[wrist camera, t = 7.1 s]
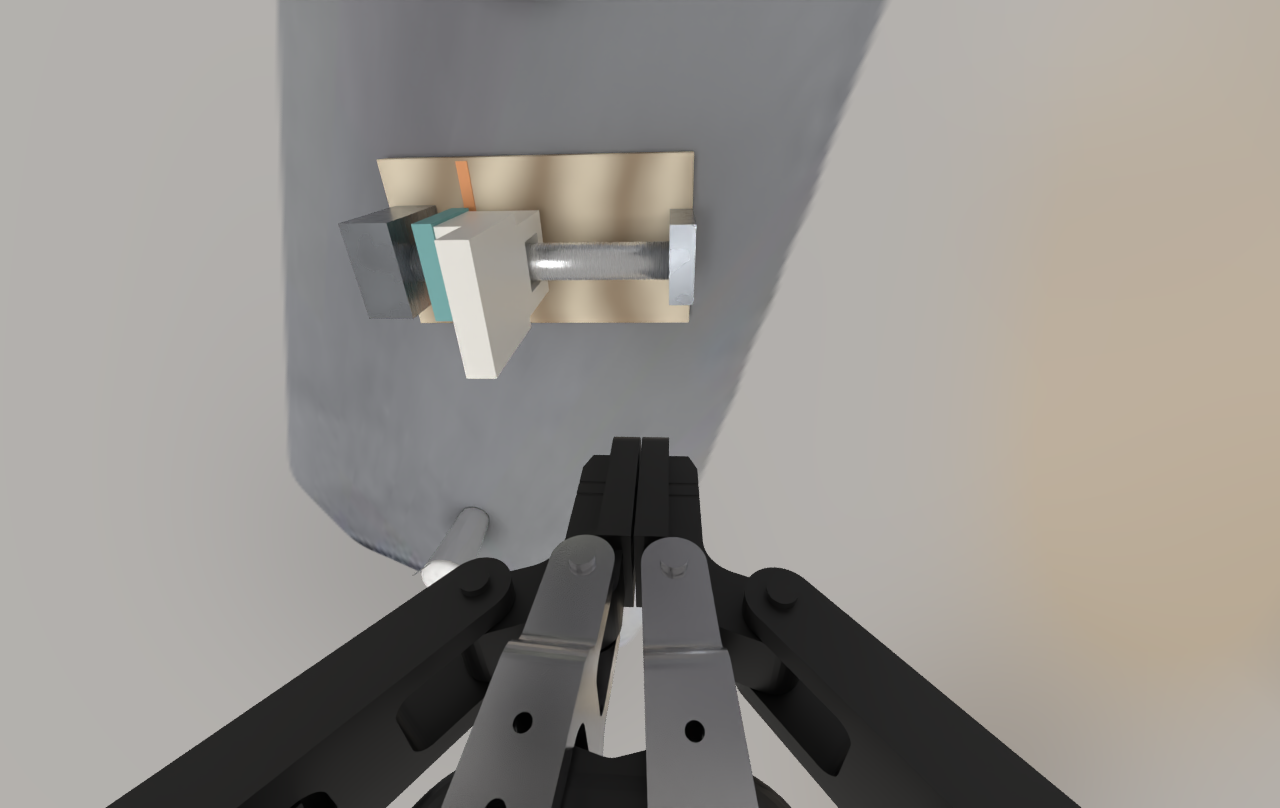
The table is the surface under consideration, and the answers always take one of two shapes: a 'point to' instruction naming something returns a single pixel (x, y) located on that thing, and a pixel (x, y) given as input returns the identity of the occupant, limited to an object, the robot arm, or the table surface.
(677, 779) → the robot arm
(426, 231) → the thin teal tile
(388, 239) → the pipe stand
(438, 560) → the milkshake
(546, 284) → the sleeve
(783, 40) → the table surface
